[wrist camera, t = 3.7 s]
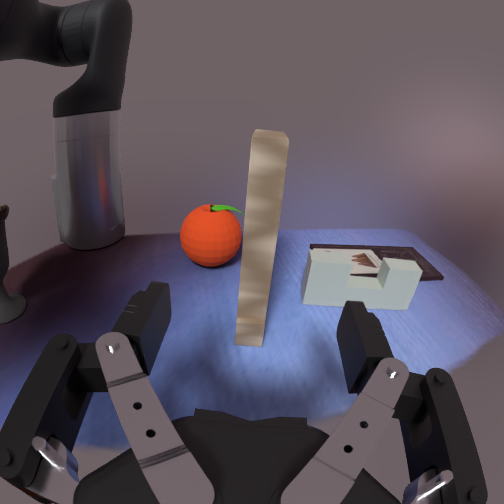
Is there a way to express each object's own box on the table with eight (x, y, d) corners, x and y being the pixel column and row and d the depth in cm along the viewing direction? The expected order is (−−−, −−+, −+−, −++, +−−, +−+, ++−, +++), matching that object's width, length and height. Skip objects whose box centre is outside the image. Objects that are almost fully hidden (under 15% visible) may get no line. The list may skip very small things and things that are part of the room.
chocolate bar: (444, 276, 36) (332, 279, 33) (441, 282, 36) (330, 286, 34) (412, 247, 44) (310, 243, 41) (410, 252, 44) (309, 249, 41)
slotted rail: (302, 304, 29) (311, 260, 27) (300, 291, 31) (309, 249, 29) (406, 310, 29) (422, 271, 27) (400, 298, 31) (414, 260, 29)
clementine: (234, 244, 40) (237, 192, 37) (258, 271, 34) (264, 212, 31) (174, 253, 36) (173, 198, 33) (190, 283, 31) (189, 220, 28)
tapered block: (234, 344, 24) (251, 137, 16) (241, 295, 30) (256, 128, 23) (261, 347, 24) (289, 141, 16) (263, 297, 30) (283, 131, 23)
